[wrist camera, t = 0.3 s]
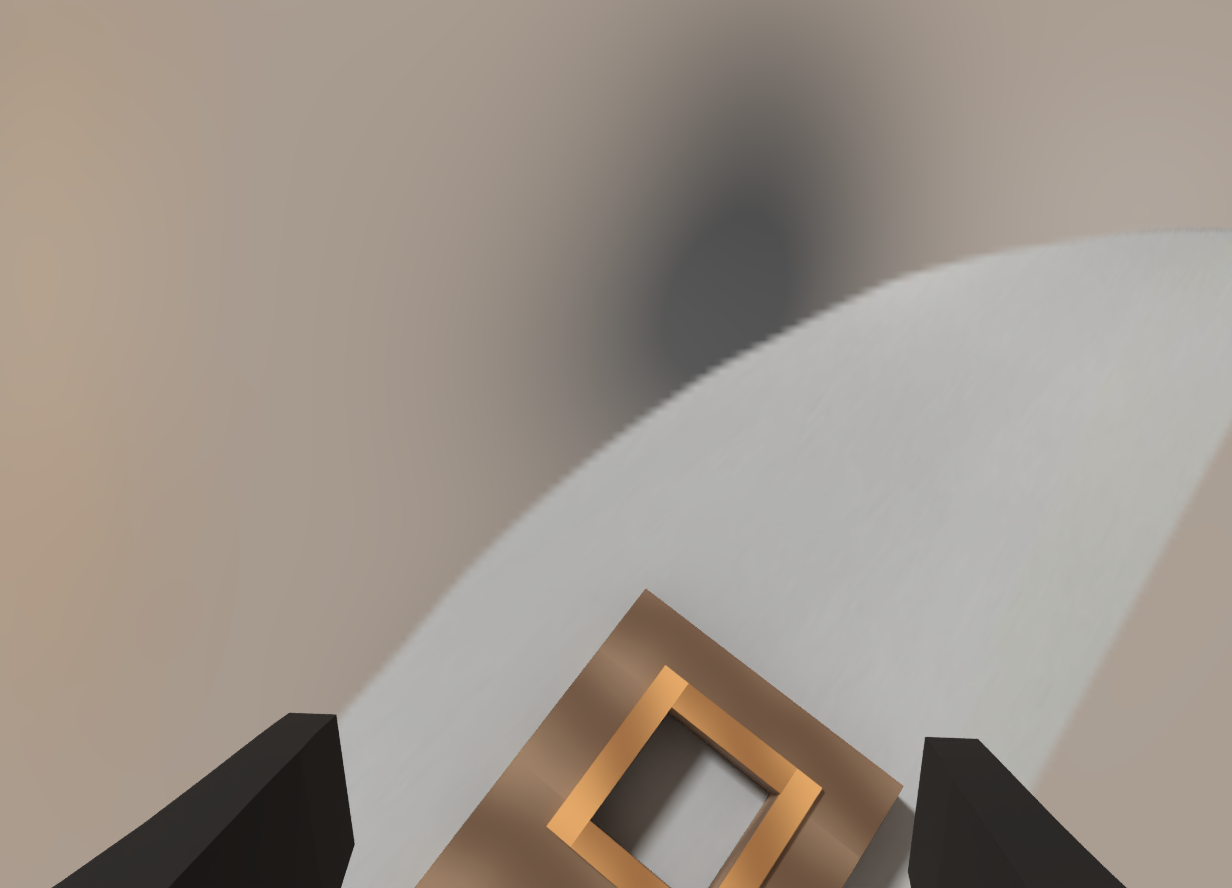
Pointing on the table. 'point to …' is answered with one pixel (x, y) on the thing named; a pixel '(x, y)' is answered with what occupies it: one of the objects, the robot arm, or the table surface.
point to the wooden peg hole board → (613, 736)
